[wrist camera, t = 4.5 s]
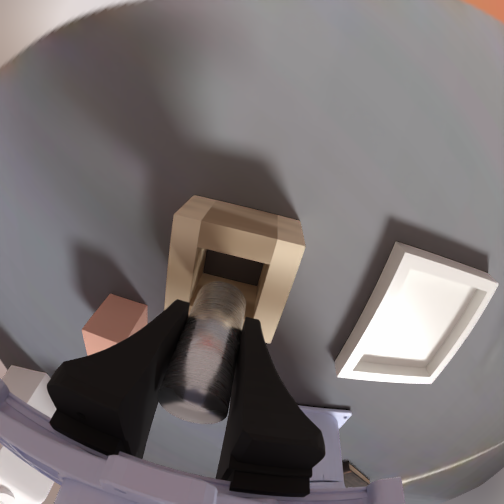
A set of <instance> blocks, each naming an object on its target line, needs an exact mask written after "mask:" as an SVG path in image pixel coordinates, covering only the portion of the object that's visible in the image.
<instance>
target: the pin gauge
mask: <svg viewBox="0 0 504 504" xmlns="http://www.w3.org/2000/svg"><path fill="white" fill-rule="evenodd" d="M245 309H246V299H245V297H244V295H243V293H242V292H241V291H240V290H239V289H238V288H237V287H235V286H234V285H232V284H229V283H226V282H221V281H215V282H210V283H208V284H206V285H204V286H203V287H202V288H201V289H200V290H199V292H198V294H197V297H196V299H195V302H194V304H193V306H192V309H191V311H190V314H189V316H188V318H187V321H186V323H185V326H184V328H183V331H182V333H181V336H180V338H179V341H178V343H177V346H176V348H175V351H174V353H173V356H172V358H171V361H170V363H169V366H168V368H167V371H166V373H165V376H164V379H163V381H162V384H161V386H160V389H159V392H158V395H157V398H158V401H159V403H160V404H161V406H162V407H163V408H164V409H165V410H166V411H168V412H169V413H171V414H172V415H174V416H176V417H178V418H180V419H183V420H186V421H189V422H193V423H199V424H212V423H217V422H220V421H222V420H224V419H225V418H226V417H227V414H228V408H229V403H230V397H231V391H232V385H233V379H234V374H235V368H236V362H237V356H238V350H239V344H240V338H241V332H242V327H243V321H244V315H245Z"/></svg>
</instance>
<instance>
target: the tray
mask: <svg viewBox="0 0 504 504" xmlns="http://www.w3.org/2000/svg"><path fill="white" fill-rule="evenodd" d="M498 285H499V283H498V282H497V281H496V280H495V279H494V278H493V277H492V276H491V275H490V274H489V273H486V272H483V271H481V270H478V269H475V268H473V267H470V266H467V265H464V264H462V263H459V262H456V261H453V260H450V259H448V258H445V257H442V256H439V255H436V254H433V253H430V252H427V251H424V250H421V249H418V248H415V247H412V246H409V245H406V244H403V243H400V242H397V241H396V242H395V244H394V247H393V249H392V251H391V254H390V256H389V258H388V260H387V263H386V265H385V267H384V269H383V271H382V274H381V276H380V278H379V280H378V282H377V284H376V286H375V288H374V290H373V292H372V294H371V296H370V298H369V300H368V302H367V304H366V306H365V308H364V310H363V312H362V314H361V316H360V318H359V320H358V321H357V323H356V325H355V327H354V329H353V331H352V332H351V334H350V336H349V338H348V340H347V341H346V343H345V345H344V347H343V348H342V350H341V352H340V353H339V355H338V357H337V358H336V360H335V362H334V363H335V369H336V375H337V377H341V378H350V379H359V380H370V381H382V382H397V383H417V384H431V383H432V382H433V381H434V380H435V379H436V377H437V376H438V375H439V374H440V373H441V371H442V370H443V369H444V368H445V366H446V365H447V364H448V362H449V361H450V360H451V358H452V357H453V356H454V354H455V353H456V352H457V350H458V349H459V348H460V346H461V345H462V343H463V342H464V340H465V339H466V338H467V336H468V335H469V333H470V332H471V330H472V329H473V327H474V326H475V324H476V322H477V321H478V319H479V318H480V316H481V314H482V313H483V311H484V310H485V308H486V306H487V304H488V303H489V301H490V299H491V297H492V296H493V294H494V292H495V290H496V288H497V287H498Z"/></svg>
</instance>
